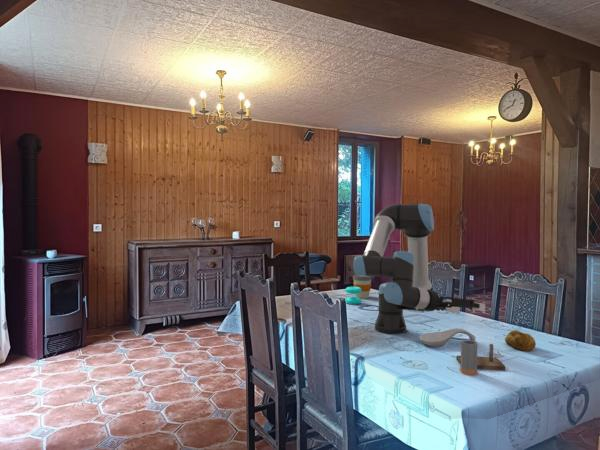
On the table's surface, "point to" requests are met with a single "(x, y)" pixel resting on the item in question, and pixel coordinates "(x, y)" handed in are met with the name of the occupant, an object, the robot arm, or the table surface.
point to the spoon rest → (442, 337)
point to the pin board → (487, 361)
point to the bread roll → (520, 341)
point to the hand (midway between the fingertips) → (471, 309)
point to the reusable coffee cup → (362, 285)
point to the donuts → (353, 291)
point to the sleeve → (468, 357)
